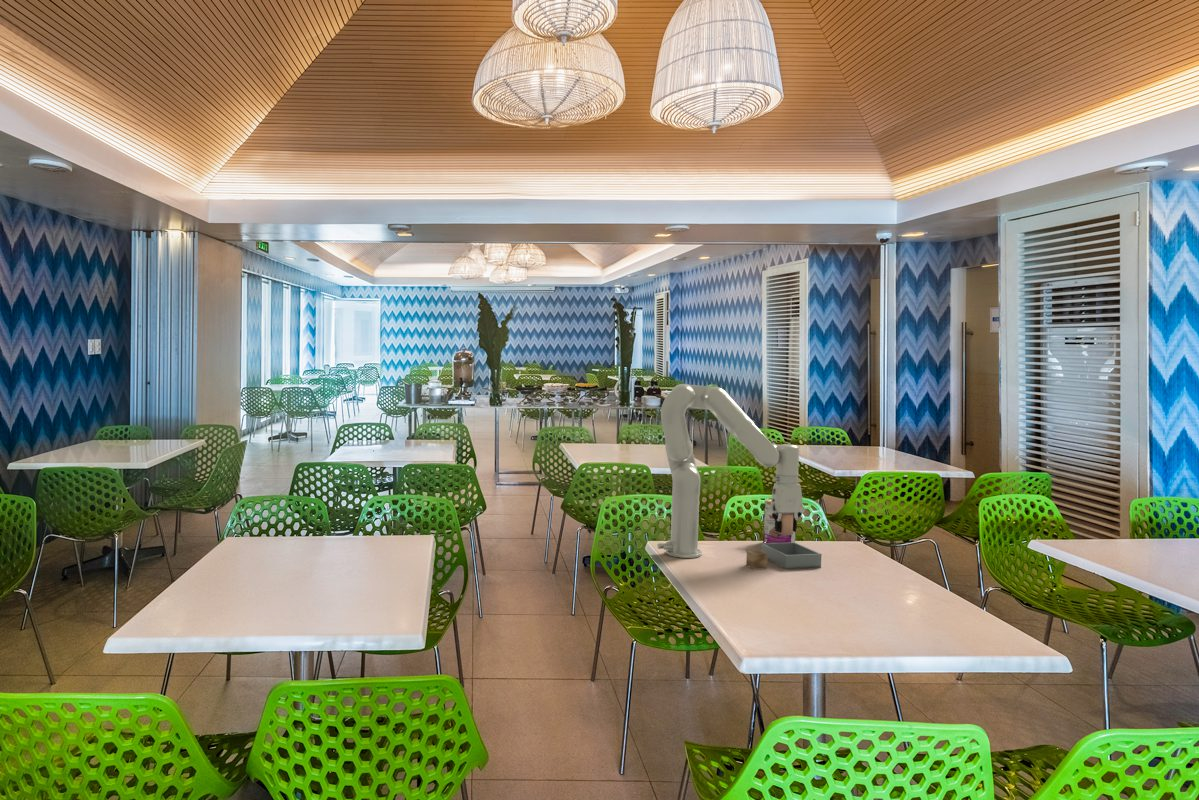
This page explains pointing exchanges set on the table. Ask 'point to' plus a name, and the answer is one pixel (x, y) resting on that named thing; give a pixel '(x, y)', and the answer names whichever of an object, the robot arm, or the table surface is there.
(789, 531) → the terracotta cylinder
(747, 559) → the walnut cube
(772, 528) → the candy bar box
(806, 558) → the grey tote
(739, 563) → the table surface
